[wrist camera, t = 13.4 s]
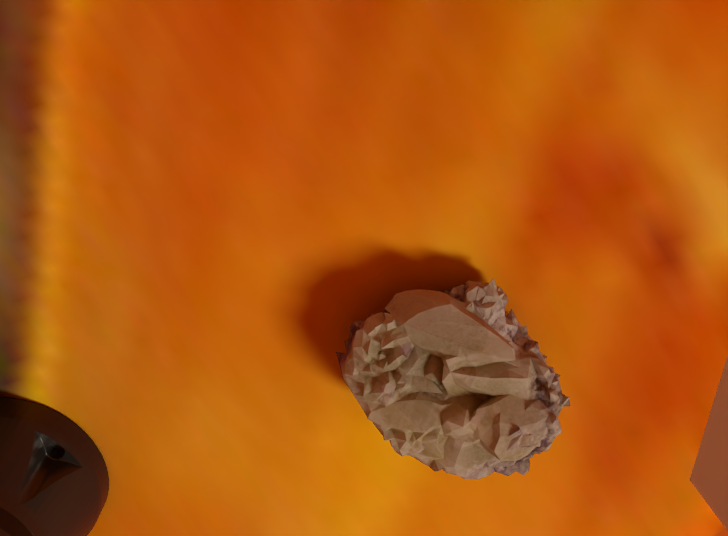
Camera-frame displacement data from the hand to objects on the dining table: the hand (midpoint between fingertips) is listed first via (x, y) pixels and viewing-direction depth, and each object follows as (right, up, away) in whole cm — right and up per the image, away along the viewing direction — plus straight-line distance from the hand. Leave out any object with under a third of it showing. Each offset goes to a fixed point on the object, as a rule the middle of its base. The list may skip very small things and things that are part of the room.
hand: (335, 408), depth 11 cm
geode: (+8, -4, +40) cm, 41 cm away
